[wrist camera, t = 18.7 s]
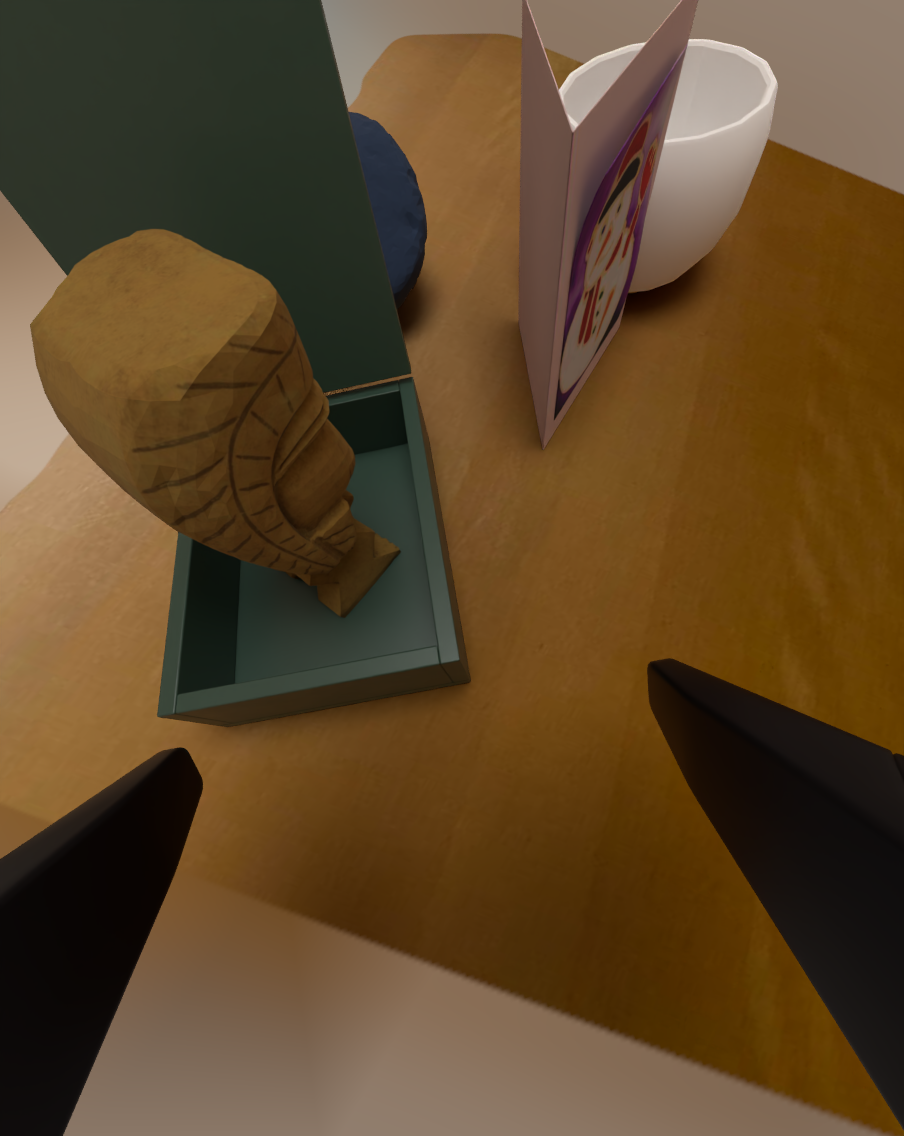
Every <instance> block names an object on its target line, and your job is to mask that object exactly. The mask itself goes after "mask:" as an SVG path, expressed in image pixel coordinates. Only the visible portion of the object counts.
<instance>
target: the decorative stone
mask: <svg viewBox="0 0 904 1136" xmlns="http://www.w3.org/2000/svg"><path fill="white" fill-rule="evenodd" d="M349 116H350V120H351V124H352V128H353V133H354V137H355V141H356V145H357V149H358V153H359V157H360V161H361V165H362V169H363V173H364V178H365V182H366V186H367V190H368V194H369V198H370V202H371V206H372V210H373V214H374V218H375V223H376V227H377V231H378V235H379V239H380V243H381V247H382V251H383V255H384V259H385V263H386V268H387V272H388V276H389V280H390V284H391V288H392V292H393V296H394V300H395V304H396V309H398V308H399V307H400V306H401V305H402V304H403V302H404V301H405V299H406V297H407V296H408V294H409V292H410V290H411V289H413V287H414V286H415V284H416V281H417V278H418V277H419V274H420V271H421V268H422V265H423V260H424V256H425V242H426V239H427V222H426V215H425V209H424V203H423V199H422V195H421V192H420V190H419V187H418V183H417V179H416V175H415V173H414V171H413V169H412V167H411V165H410V163H409V162H408V160H407V158H406V156H405V154H404V153H403V152H402V150H401V149H400V147H399V146H398V144H397V143H396V142H395V140H394V139H393V138H392V136H391V135H390V134H388V133H387V132H386V130H385V129H384V128H383V127H382V126H381V125H380V124H379V123H378V122H377V121H375V120H371V119H369V118H368V117H366V116H364V115H361V114H359V113H352V112H349Z"/></svg>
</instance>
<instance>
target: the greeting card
mask: <svg viewBox="0 0 904 1136" xmlns="http://www.w3.org/2000/svg"><path fill="white" fill-rule="evenodd" d="M697 3H698V0H681V1H680V2H679V4H678V5H677V6H676V7H675V8H674V10H673V11H672V12H671V13H670V14H669V16H668V17H667V18H666V19H665V20H664V22H663V23H662V24H661V25H660V26H659V28H658V29H657V30H656V31H655V33H654V34H653V35H652V36H651V37H650V39H649V40H648V41H647V42H646V43H645V45H644V46H643V47H642V48H641V49H640V51H639V52H638V53H637V54H636V56H635V57H634V58H633V59H632V60H631V62H630V63H629V64H628V65H627V66H626V68H625V69H624V70H623V71H622V72H621V74H620V75H619V76H618V77H617V79H616V80H615V81H614V82H613V83H612V85H611V86H610V87H609V88H608V89H607V91H606V92H605V93H604V94H603V95H602V97H601V98H600V99H599V100H598V102H597V103H596V104H595V105H594V106H593V108H592V109H591V110H590V111H589V112H588V114H587V115H586V116H585V117H584V118H583V120H582V121H581V122H580V123H579V125H578V126H577V127H576V128H575V129H574V131H573V129H572V126H571V123H570V121H569V118H568V115H567V112H566V109H565V106H564V104H563V101H562V98H561V95H560V92H559V89H558V87H557V84H556V81H555V78H554V75H553V72H552V70H551V67H550V64H549V61H548V58H547V55H546V53H545V50H544V47H543V44H542V41H541V39H540V36H539V33H538V30H537V27H536V24H535V22H534V19H533V16H532V13H531V10H530V7H529V5H528V2H527V0H523V2H522V81H521V161H520V240H519V320H518V322H519V327H520V333H521V338H522V343H523V349H524V354H525V359H526V365H527V370H528V375H529V381H530V386H531V391H532V397H533V402H534V407H535V412H536V418H537V423H538V428H539V434H540V439H541V444H542V450H544V448H545V446H546V445H547V443H548V442H549V440H550V438H551V437H552V435H553V433H554V432H555V430H556V429H557V427H558V425H559V424H560V422H561V421H562V419H563V417H564V416H565V414H566V412H567V411H568V409H569V408H570V406H571V404H572V403H573V401H574V400H575V398H576V396H577V395H578V393H579V391H580V390H581V388H582V387H583V385H584V383H585V382H586V380H587V379H588V377H589V375H590V374H591V372H592V370H593V369H594V367H595V366H596V364H597V362H598V361H599V359H600V358H601V356H602V354H603V353H604V351H605V349H606V348H607V346H608V345H609V343H610V341H611V340H612V338H613V337H614V335H615V333H616V332H617V330H618V328H619V326H620V322H621V318H622V314H623V310H624V306H625V301H626V297H627V294H628V291H629V289H630V285H631V282H632V278H633V275H634V271H635V268H636V263H637V259H638V254H639V249H640V244H641V238H642V233H643V227H644V222H645V217H646V213H647V209H648V205H649V201H650V197H651V194H652V190H653V185H654V181H655V177H656V173H657V169H658V165H659V161H660V156H661V152H662V148H663V144H664V140H665V136H666V132H667V127H668V123H669V119H670V115H671V111H672V107H673V103H674V98H675V94H676V90H677V86H678V82H679V78H680V74H681V69H682V65H683V61H684V57H685V53H686V49H687V46H688V40H689V36H690V32H691V28H692V24H693V20H694V16H695V11H696V7H697Z"/></svg>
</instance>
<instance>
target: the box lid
mask: <svg viewBox="0 0 904 1136" xmlns="http://www.w3.org/2000/svg"><path fill="white" fill-rule="evenodd" d="M0 191H1V192H2V193H3V195H4V196H5V197H6V198H7V200H9V202H10V203H11V205H12V206H13V207H14V208H15V210H16V211H17V212H18V214H19V215H20V216H21V217H22V219H23V220H24V221H25V222H26V224H27V225H28V226H29V228H30V229H31V230H32V231H33V233H34V234H35V235H36V237H37V238H38V239H39V240H40V242H41V243H42V244H43V245H44V247H45V248H46V249H47V251H48V252H49V253H50V254H51V255H52V257H53V258H54V259H55V261H56V262H57V263H58V265H59V266H60V267H61V268H62V270H63V271H64V272H65V273H66V275H67V276H68V275H69V273H70V272H71V270H72V269H73V267H74V265H75V264H77V263H78V262H80V261H81V260H82V259H84V258H85V257H86V256H88V255H89V254H90V253H92V252H94V251H96V250H98V249H100V248H102V247H103V246H105V245H108V244H110V243H112V242H115V241H117V240H119V239H123V238H126V237H129V236H131V235H132V234H134V233H135V232H136V231H141V230H148V229H164V230H167V231H171V232H173V233H176V234H179V235H181V236H183V237H184V238H186V239H189V240H191V241H193V242H195V243H197V244H198V245H200V246H201V247H203V248H205V249H207V250H209V251H211V252H213V253H215V254H217V255H220V256H221V257H223V258H226V259H228V260H231V261H234V262H236V263H238V264H241V265H243V266H244V267H246V268H248V269H251V270H253V271H255V272H257V273H258V274H260V275H262V276H263V277H265V278H266V279H267V280H269V281H270V283H271V284H272V285H273V287H274V288H275V289H276V291H277V292H278V294H279V295H280V297H281V299H282V300H283V302H284V303H285V305H286V306H287V309H288V311H289V313H290V316H291V318H292V320H293V322H294V325H295V327H296V330H297V332H298V335H299V337H300V339H301V342H302V344H303V347H304V349H305V352H306V355H307V357H308V360H309V362H310V365H311V368H312V372H313V378H314V379H315V380H316V381H317V383H318V384H319V386H320V387H321V389H322V392H323V393H324V392H329V391H334V390H338V389H343V388H347V387H352V386H356V385H361V384H365V383H370V382H374V381H379V380H384V379H388V378H393V377H397V376H402V375H406V374H411V366H410V362H409V358H408V354H407V349H406V345H405V341H404V337H403V333H402V329H401V325H400V321H399V317H398V313H397V309H396V304H395V300H394V296H393V292H392V288H391V284H390V280H389V276H388V272H387V268H386V263H385V259H384V255H383V251H382V247H381V243H380V239H379V235H378V231H377V227H376V223H375V218H374V214H373V210H372V206H371V202H370V198H369V194H368V190H367V186H366V182H365V178H364V173H363V169H362V165H361V161H360V157H359V153H358V149H357V145H356V141H355V137H354V133H353V128H352V124H351V120H350V116H349V112H348V108H347V104H346V100H345V96H344V92H343V88H342V84H341V79H340V76H339V71H338V67H337V63H336V59H335V55H334V51H333V47H332V43H331V38H330V34H329V30H328V26H327V22H326V18H325V14H324V10H323V6H322V2H321V0H0Z"/></svg>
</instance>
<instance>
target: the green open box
mask: <svg viewBox="0 0 904 1136" xmlns="http://www.w3.org/2000/svg"><path fill="white" fill-rule="evenodd" d="M326 397H327V399H328V400H329V415H328V417H327V419H328V420H329V421H330V422H331V423H332V425H333V426H334V427H335V428H336V429H337V430H338V431H339V432H340V434H341V435H342V437H343V438H344V439H345V441H346V442H347V443H348V444H349V446H350V447H351V448H352V450H353V452H354V455H355V467H354V471H353V474H352V476H351V478H350V481H349V484H348V486H347V488H346V490H347V491H349V492H350V493H351V494H352V495H353V497H354V500H353V502H352V505H351V508H350V510H351V513H352V516H353V518H355V519H356V520H358V521H359V522H361V523H362V524H364V525H366V526H367V527H369V528H371V529H372V530H373V531H374V532H375V534H376V533H377V534H378V535H379V536H380V537H381V538H386V539H387V540H388V541H389V542H390V543H393V544H394V545H395V546H397V547H398V548H399V549H400V551H401V552H400V554H399V555H398V556H397V557H396V558H395V559H394V560H393V561H392V563H391V564H390V565H389V567H388V568H387V569H386V571H385V572H384V573H383V574H382V576H381V577H380V578H379V579H378V580H377V581H376V583H375V584H374V585H373V586H372V587H371V589H370V590H369V591H368V592H367V593H366V595H365V596H364V597H363V598H362V599H361V600H360V601H359V603H358V604H357V605H356V606H355V607H354V608H353V609H352V611H351V612H350V613H349V614H348V615H347V616H346V617H345V618H343V617H340V616H339V615H337V614H336V613H335V612H334V611H332V610H331V609H330V608H329V607H327V606H326V605H325V604H323V603H322V602H321V601H319V600H318V591H317V585H316V586H309V585H308V584H307V583H305V582H304V581H303V580H302V579H301V578H300V577H299V578H298V579H295V578H292V577H290V576H289V575H288V574H287V573H286V572H284V571H278V570H275V569H271V568H267V567H263V566H259V565H256V564H253V563H249V562H246V561H242V560H239V559H238V558H236V557H233V556H230V555H227V554H225V553H222V552H220V551H217V550H215V549H212V548H210V547H208V546H206V545H204V544H202V543H200V542H198V541H196V540H194V539H192V538H190V537H188V536H186V535H184V534H182V533H180V532H178V540H177V549H176V558H175V566H174V575H173V584H172V592H171V601H170V610H169V618H168V627H167V635H166V644H165V653H164V661H163V670H162V679H161V687H160V696H159V705H158V713H157V716H158V717H161V718H168V719H175V720H182V721H189V722H196V723H203V724H210V725H217V726H224V727H231V726H236V725H241V724H247V723H252V722H258V721H263V720H268V719H274V718H279V717H285V716H290V715H296V714H301V713H306V712H312V711H317V710H323V709H328V708H333V707H339V706H344V705H350V704H355V703H361V702H366V701H371V700H377V699H382V698H388V697H393V696H398V695H404V694H409V693H415V692H420V691H426V690H431V689H436V688H442V687H447V686H453V685H458V684H463V683H469V682H470V681H471V679H470V674H469V668H468V662H467V656H466V651H465V645H464V639H463V633H462V628H461V622H460V616H459V610H458V605H457V599H456V593H455V587H454V581H453V576H452V570H451V564H450V558H449V553H448V547H447V541H446V535H445V530H444V524H443V518H442V512H441V507H440V501H439V495H438V489H437V484H436V478H435V472H434V466H433V460H432V455H431V449H430V443H429V438H428V434H427V430H426V426H425V422H424V418H423V414H422V410H421V407H420V403H419V399H418V395H417V391H416V387H415V383H414V379H413V377H409V378H405V379H400V380H399V381H398V380H396V381H391V382H387V383H382V384H378V385H373V386H369V387H364V388H360V389H355V390H350V391H346V392H341V393H337V394H332V395H328V396H326Z"/></svg>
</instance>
